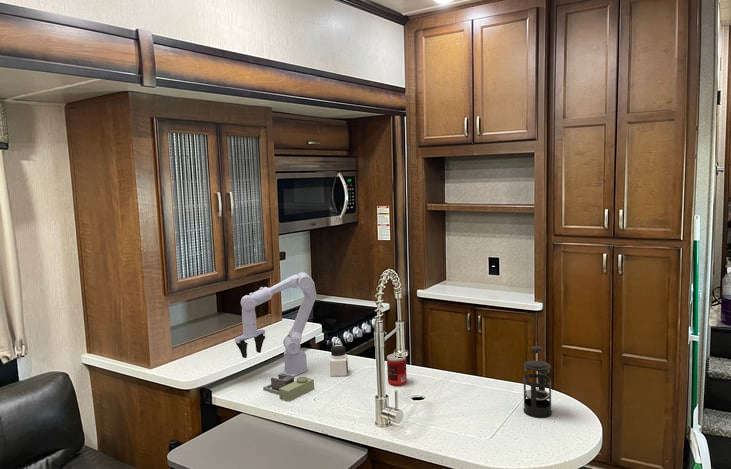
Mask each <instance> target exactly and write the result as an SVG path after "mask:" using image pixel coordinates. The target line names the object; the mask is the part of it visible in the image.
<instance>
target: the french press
mask: <svg viewBox="0 0 731 469" xmlns="http://www.w3.org/2000/svg"><path fill="white" fill-rule="evenodd" d="M530 350H532V351H535V358H536V360H532V359H531V360H526V361H524V362H523V364H522V365H523V367H524V372H525V373H526V372H529V371H531V370H532V371H536V373H528V374H526V375H524V376H523V413H524V414H525V415H527V416H528V417H531V418H537V419H545V418H549V417H551V416H552V414H553V411H552V379H551V377H550V376H548V374H550V369H551V368H552V366H551V364H550V363H549V362H547V361H543V360H538V354H539V351H543V350H544V348H543V347H541V346H538V345H536V346H531V347H530ZM531 378H536V382H530V381H528V379H531ZM546 381H547V382H546ZM527 386H528V387H530V389H527V388H526V387H527ZM546 387H547V388H549V389H548V391H549V392H548V391H547V390H546Z"/></svg>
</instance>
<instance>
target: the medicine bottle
mask: <svg viewBox="0 0 731 469" xmlns="http://www.w3.org/2000/svg"><path fill="white" fill-rule="evenodd" d="M330 352H331V353H330V358H329V372H330V377H332V378H333V377H347V376H348V375H349V374H348V372H349V362H348V354H346V346H344V345H341V344H337V345H333V346H332V347H331V348H330Z"/></svg>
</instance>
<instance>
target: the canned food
mask: <svg viewBox="0 0 731 469" xmlns="http://www.w3.org/2000/svg"><path fill="white" fill-rule="evenodd" d="M386 368H387V370H386V371H387V382H388V385H390V386H391V387H392V386H393V387H402V386H404V385H406V384H407V381H408V380H407V378H408V377H407V356H406V357H403V358H398V357H395V356H394V353H391V354H388V355H387V356H386Z"/></svg>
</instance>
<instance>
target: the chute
mask: <svg viewBox="0 0 731 469" xmlns="http://www.w3.org/2000/svg"><path fill="white" fill-rule="evenodd" d="M277 377H278V378H276V377H270V384H271V388H270V389H274V390H277V391H279V388H281V387H284V386H286V385H288V384H290V383H292V382H295V376H294V377H292V376H288V375H285V374H281V373H278V376H277Z"/></svg>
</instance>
